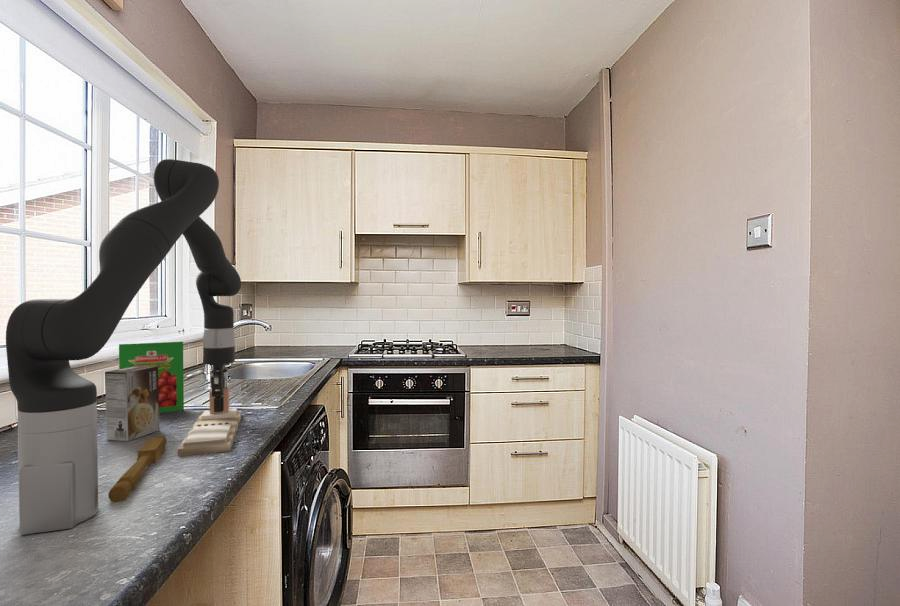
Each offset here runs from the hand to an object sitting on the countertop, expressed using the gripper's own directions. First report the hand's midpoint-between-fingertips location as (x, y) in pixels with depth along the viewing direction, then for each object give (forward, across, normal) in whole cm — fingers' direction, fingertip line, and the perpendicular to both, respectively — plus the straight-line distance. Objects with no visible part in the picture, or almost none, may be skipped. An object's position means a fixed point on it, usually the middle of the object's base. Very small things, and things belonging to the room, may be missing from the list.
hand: (219, 409), depth 125 cm
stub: (+2, 0, 0) cm, 2 cm away
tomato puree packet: (+3, +16, +19) cm, 25 cm away
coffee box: (+3, -6, +18) cm, 19 cm away
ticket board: (+3, -11, 0) cm, 12 cm away
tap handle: (+4, -32, +10) cm, 34 cm away
